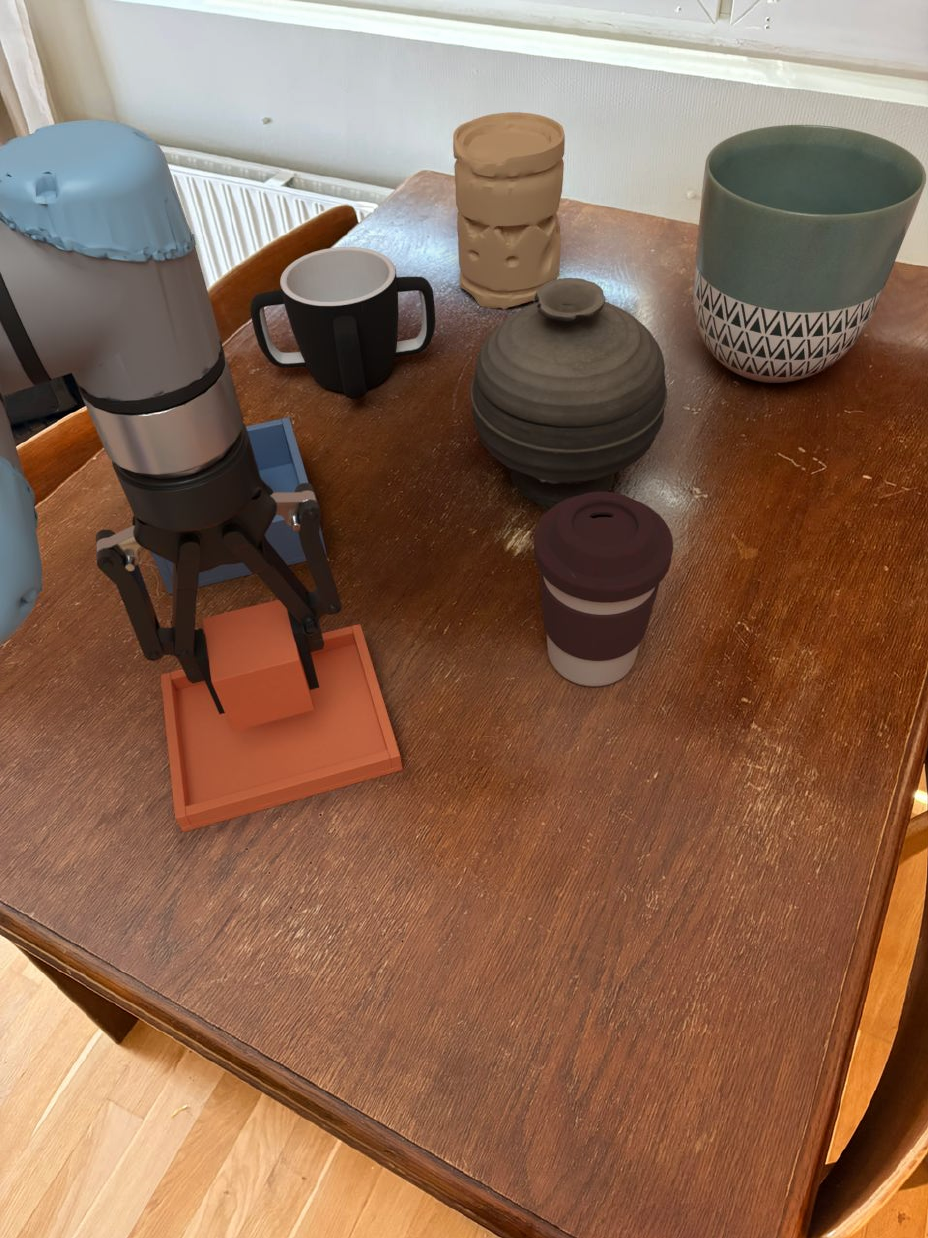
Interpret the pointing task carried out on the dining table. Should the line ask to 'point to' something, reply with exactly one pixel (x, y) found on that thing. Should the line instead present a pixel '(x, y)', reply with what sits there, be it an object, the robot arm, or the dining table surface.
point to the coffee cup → (599, 582)
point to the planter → (798, 244)
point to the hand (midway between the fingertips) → (267, 686)
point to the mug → (344, 317)
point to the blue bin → (282, 475)
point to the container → (508, 205)
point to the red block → (256, 665)
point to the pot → (568, 392)
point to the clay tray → (279, 740)
